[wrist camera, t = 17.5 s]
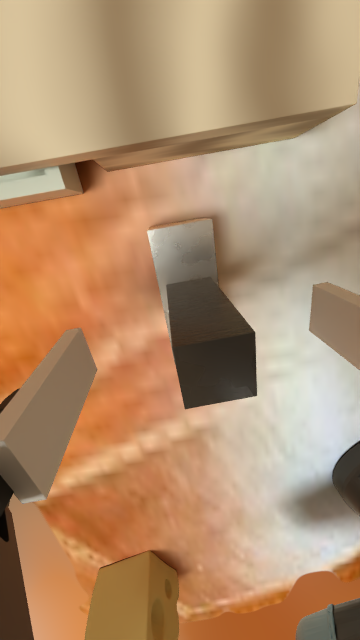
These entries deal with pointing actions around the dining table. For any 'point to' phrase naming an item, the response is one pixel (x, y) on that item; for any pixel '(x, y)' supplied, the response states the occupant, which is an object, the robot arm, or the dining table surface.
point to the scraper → (201, 316)
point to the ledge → (168, 77)
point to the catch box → (39, 185)
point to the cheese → (135, 601)
